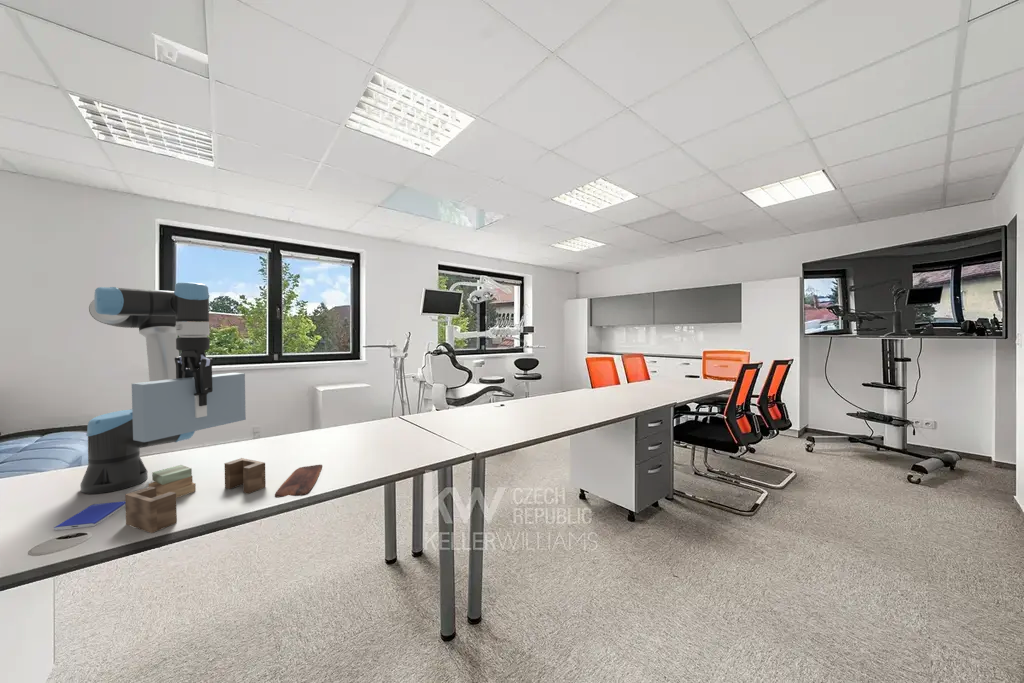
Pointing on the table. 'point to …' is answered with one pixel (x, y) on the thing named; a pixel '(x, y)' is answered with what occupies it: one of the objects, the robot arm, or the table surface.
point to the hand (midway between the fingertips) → (194, 415)
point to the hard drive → (91, 515)
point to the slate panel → (185, 406)
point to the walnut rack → (161, 509)
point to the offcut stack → (173, 481)
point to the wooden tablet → (299, 481)
